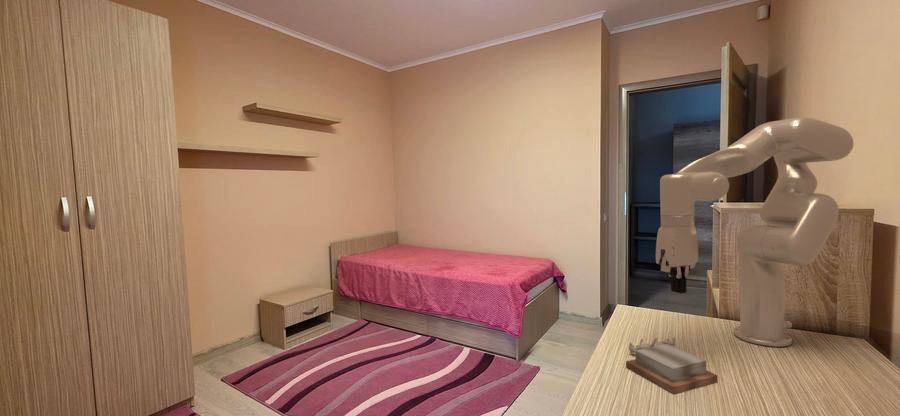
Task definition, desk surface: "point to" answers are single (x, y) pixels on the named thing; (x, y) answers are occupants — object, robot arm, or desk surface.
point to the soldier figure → (643, 346)
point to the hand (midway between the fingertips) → (678, 291)
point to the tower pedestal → (671, 368)
